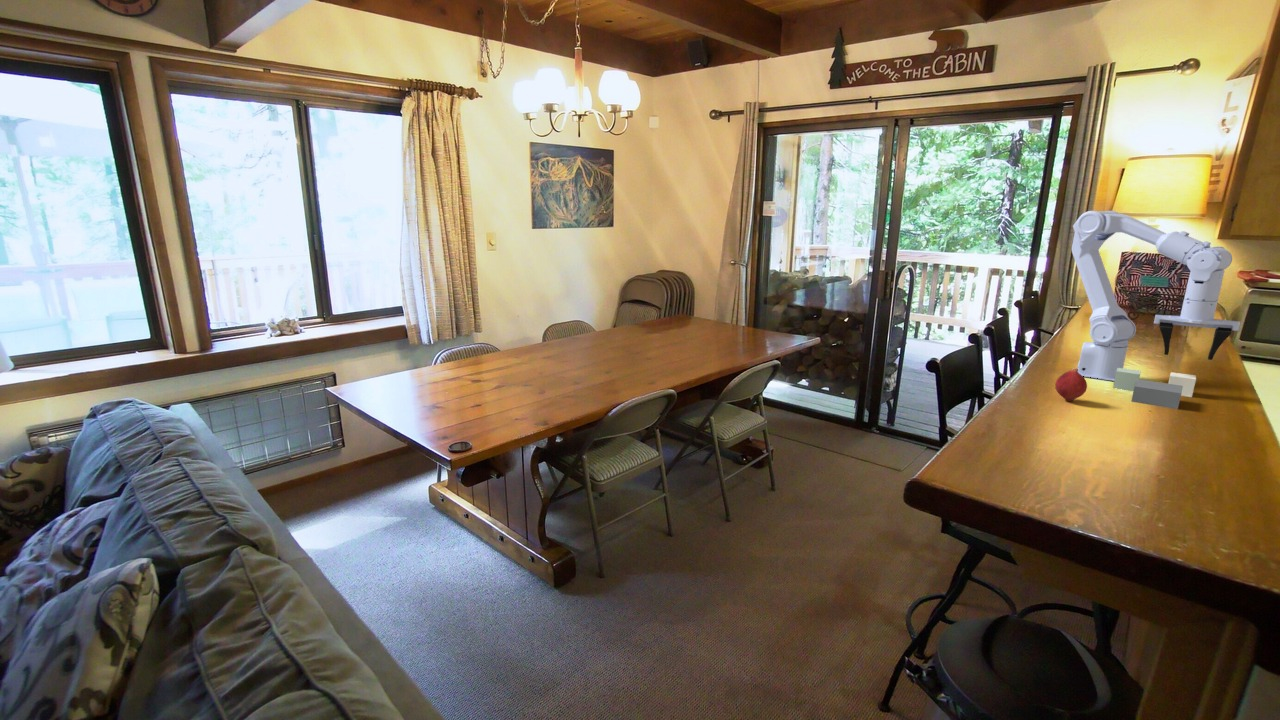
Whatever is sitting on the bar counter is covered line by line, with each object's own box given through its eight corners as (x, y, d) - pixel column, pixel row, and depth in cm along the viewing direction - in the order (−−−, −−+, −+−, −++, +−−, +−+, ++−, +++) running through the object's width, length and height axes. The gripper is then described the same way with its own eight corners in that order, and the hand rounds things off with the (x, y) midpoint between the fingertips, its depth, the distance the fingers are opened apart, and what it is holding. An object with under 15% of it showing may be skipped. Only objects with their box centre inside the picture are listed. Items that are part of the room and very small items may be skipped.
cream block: (1166, 393, 140) (1170, 375, 139) (1166, 389, 143) (1170, 372, 142) (1191, 397, 137) (1196, 379, 136) (1191, 393, 140) (1195, 375, 139)
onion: (1056, 403, 133) (1062, 369, 131) (1050, 396, 139) (1055, 363, 137) (1087, 406, 131) (1093, 372, 129) (1079, 398, 136) (1085, 366, 134)
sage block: (1112, 388, 145) (1116, 371, 143) (1114, 384, 148) (1117, 367, 147) (1136, 392, 142) (1139, 374, 140) (1137, 388, 145) (1140, 370, 144)
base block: (1131, 402, 134) (1134, 386, 133) (1134, 395, 140) (1137, 379, 139) (1177, 410, 129) (1181, 393, 128) (1179, 402, 134) (1182, 385, 133)
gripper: (1158, 298, 137) (1147, 354, 140) (1246, 304, 127) (1231, 364, 130) (1159, 295, 142) (1148, 349, 145) (1244, 301, 132) (1229, 358, 135)
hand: (1187, 356), depth 138 cm, fingers open, 7 cm apart
